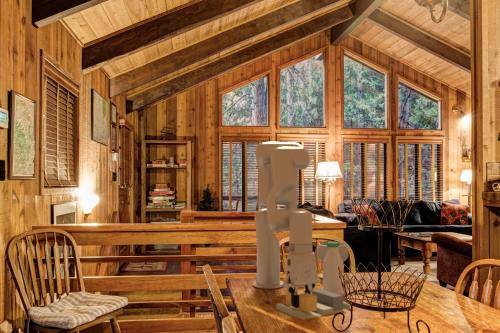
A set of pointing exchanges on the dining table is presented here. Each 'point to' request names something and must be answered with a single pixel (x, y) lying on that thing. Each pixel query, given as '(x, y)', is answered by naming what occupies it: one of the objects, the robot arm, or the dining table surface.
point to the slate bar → (329, 299)
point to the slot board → (305, 315)
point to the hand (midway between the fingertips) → (301, 305)
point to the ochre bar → (304, 301)
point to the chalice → (323, 251)
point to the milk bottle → (332, 269)
